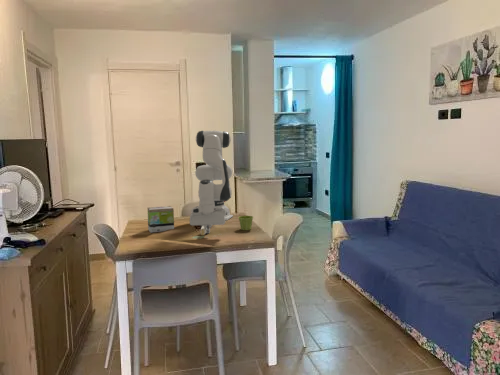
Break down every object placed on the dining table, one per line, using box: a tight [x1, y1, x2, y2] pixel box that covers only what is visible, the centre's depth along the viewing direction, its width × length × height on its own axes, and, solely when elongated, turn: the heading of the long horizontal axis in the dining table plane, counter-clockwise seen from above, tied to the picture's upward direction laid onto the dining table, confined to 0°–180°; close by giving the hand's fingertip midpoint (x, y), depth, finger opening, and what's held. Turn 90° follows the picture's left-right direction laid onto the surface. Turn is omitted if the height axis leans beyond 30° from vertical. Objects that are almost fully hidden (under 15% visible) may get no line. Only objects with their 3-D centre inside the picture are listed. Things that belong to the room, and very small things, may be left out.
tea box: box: [147, 205, 175, 233], centre depth 253 cm, size 15×10×15 cm, turn 112°
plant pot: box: [237, 215, 254, 231], centre depth 247 cm, size 9×9×9 cm
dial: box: [191, 233, 223, 240], centre depth 238 cm, size 25×25×1 cm
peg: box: [200, 225, 210, 236], centre depth 232 cm, size 15×5×5 cm, turn 1°
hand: (208, 232), depth 229 cm, fingers closed
